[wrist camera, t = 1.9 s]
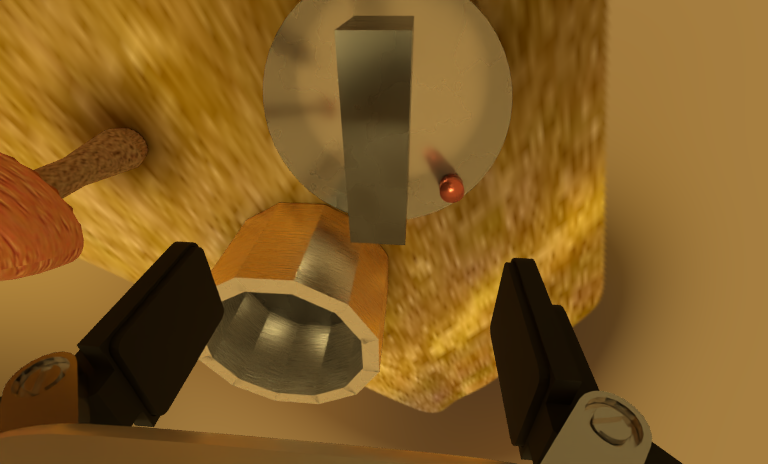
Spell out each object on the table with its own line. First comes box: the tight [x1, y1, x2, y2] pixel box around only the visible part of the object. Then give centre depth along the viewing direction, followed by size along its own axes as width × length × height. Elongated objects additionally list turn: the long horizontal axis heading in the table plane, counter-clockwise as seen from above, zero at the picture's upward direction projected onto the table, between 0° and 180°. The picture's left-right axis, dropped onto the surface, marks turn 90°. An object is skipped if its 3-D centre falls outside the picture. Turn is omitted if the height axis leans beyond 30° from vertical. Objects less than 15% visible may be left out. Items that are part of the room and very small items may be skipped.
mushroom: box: [0, 128, 148, 281], centre depth 22 cm, size 8×8×15 cm
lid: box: [263, 0, 512, 245], centre depth 22 cm, size 15×15×8 cm
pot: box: [199, 203, 388, 404], centre depth 31 cm, size 14×14×9 cm
